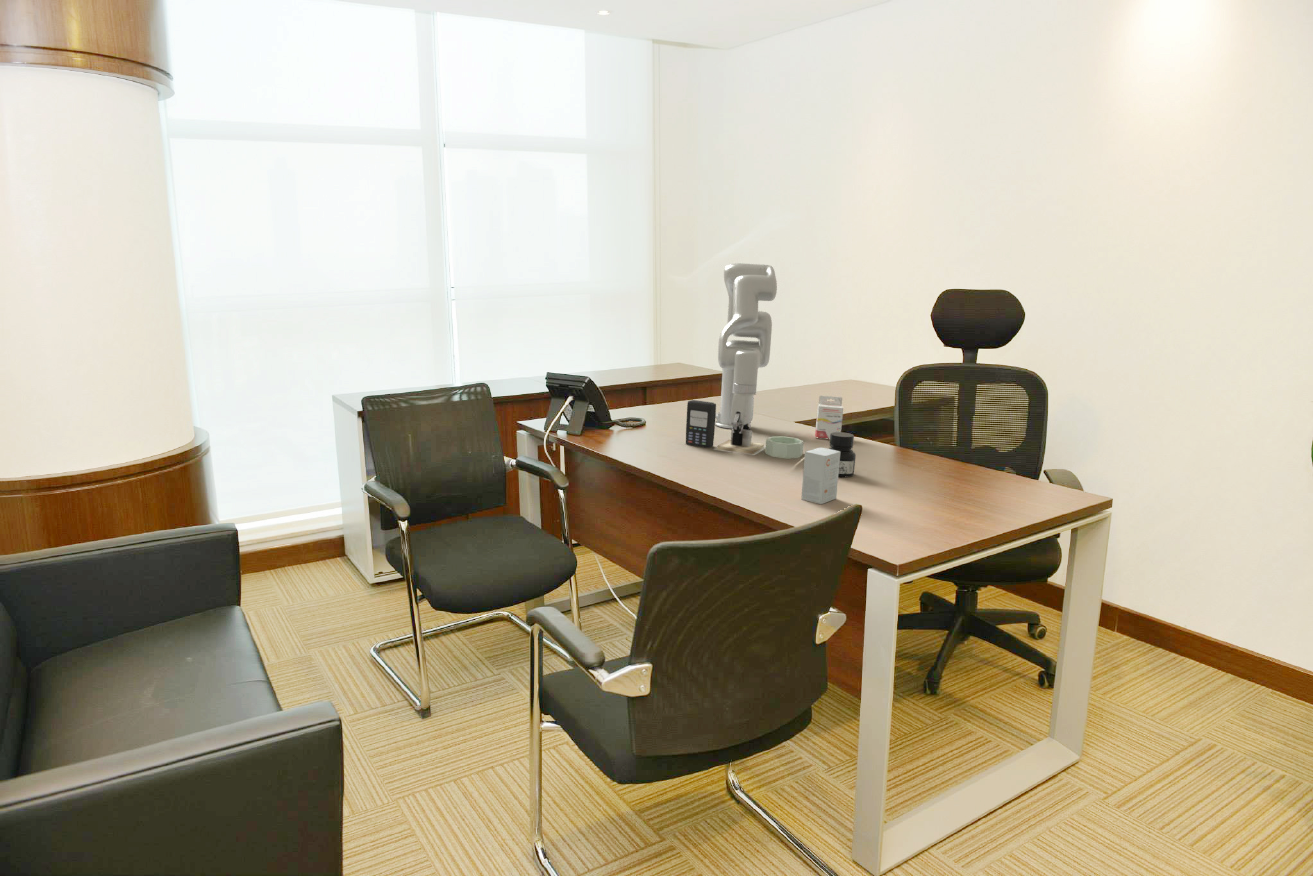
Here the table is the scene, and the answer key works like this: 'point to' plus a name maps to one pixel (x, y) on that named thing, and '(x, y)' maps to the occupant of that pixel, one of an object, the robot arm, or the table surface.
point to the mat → (743, 453)
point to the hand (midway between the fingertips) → (740, 442)
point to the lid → (746, 444)
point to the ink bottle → (844, 452)
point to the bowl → (784, 447)
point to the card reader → (700, 423)
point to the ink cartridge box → (828, 416)
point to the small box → (820, 475)
